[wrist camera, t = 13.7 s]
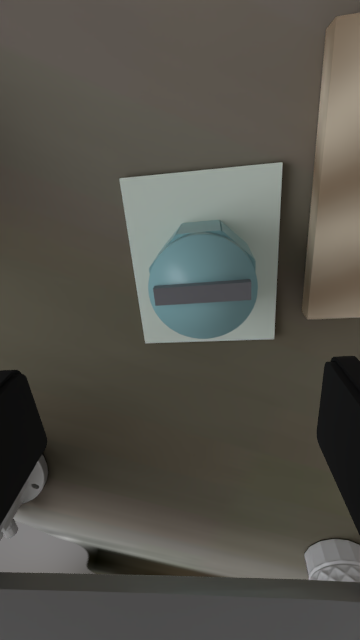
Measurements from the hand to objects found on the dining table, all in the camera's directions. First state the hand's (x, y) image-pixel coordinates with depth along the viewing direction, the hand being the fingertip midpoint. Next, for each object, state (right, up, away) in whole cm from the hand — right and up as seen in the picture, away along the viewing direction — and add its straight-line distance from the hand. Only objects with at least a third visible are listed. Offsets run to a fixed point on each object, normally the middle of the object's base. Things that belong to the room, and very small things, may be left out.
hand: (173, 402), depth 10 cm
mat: (+2, +7, +12) cm, 14 cm away
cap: (+2, +6, +12) cm, 13 cm away
